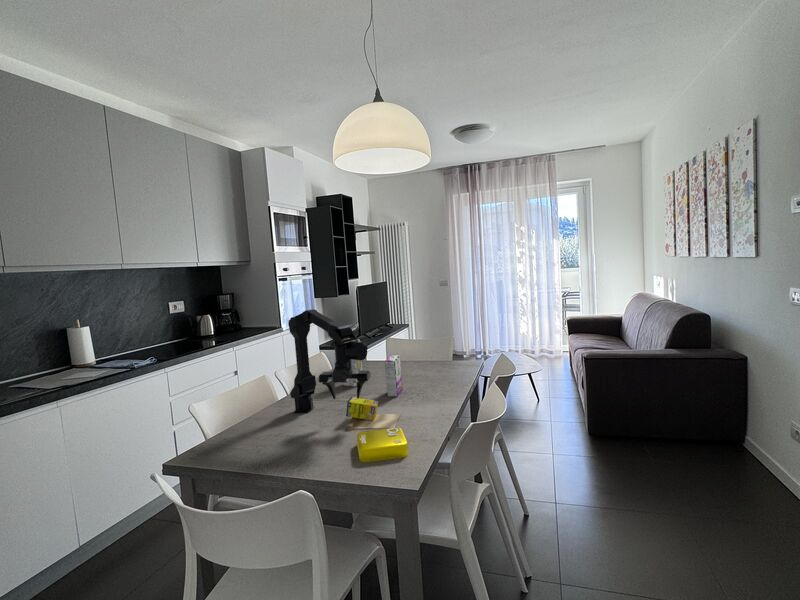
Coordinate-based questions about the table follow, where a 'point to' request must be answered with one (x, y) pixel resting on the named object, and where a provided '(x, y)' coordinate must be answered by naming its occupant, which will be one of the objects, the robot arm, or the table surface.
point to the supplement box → (362, 408)
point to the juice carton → (354, 371)
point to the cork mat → (378, 422)
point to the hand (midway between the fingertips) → (346, 398)
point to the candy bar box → (393, 376)
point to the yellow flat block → (381, 444)
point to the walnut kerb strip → (351, 423)
